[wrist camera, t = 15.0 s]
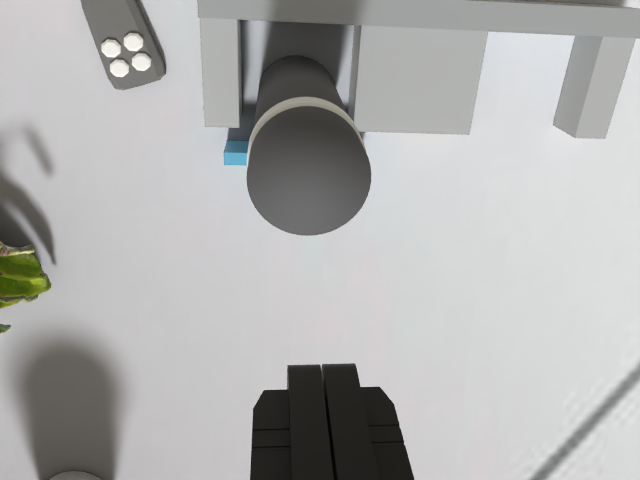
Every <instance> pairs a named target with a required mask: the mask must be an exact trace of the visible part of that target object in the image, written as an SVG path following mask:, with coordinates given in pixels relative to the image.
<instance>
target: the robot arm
mask: <svg viewBox="0 0 640 480" xmlns="http://www.w3.org/2000/svg"><path fill="white" fill-rule="evenodd" d="M250 480H414V477H413V473H412V469H411V466H410V462H409V458H408V455H407V451H406V447H405V445H404V440H403V436H402V433H401V429H400V428H399V421H398V418H397V414H396V410H395V407H394V404H393V402H392V401H391V400H390V399H389V398H388V396H387V395H386V394H385V393H384V391H383V390H382V389H381V388H380V387H360V383H359V378H358V373H357V369H356V365H355V364H322V370H321V367H320V365H288V368H287V390H264V391H263V393H262V394H261V396H260V398H259V400H258V401H257V403H256V405H255V407H254V408H253V428H252V451H251V474H250Z"/></svg>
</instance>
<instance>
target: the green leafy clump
mask: <svg viewBox="0 0 640 480" xmlns="http://www.w3.org/2000/svg"><path fill="white" fill-rule="evenodd" d="M0 244H1V245H0V308H4V307H7V306H11V305H13V304H15V303H18V302H19V301H21V300H24V301H25V302H27V303H28V302H31V301H34V300H35V299H37V297H38V295H39V294H40V293H42V292H45V291H48V290H49V289H50V288H51V283H50V281H49V278H48V276H47V274H45V273H44V272H43V270H42V268H41V265H40V263H39V261H38V260H37V258H35V257H34V256H33V255H32V254H31V253H33V252H34V251H35V248H34V246H32V245H31V244H29V245H26V246H24V247H11V246H8V245H4V244H3V243H2V242H1V241H0ZM10 327H11V325H3V324H0V333H4V332H6V331H7V330H9V328H10Z"/></svg>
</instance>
